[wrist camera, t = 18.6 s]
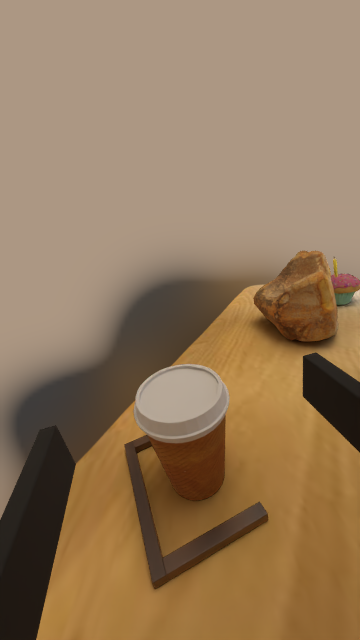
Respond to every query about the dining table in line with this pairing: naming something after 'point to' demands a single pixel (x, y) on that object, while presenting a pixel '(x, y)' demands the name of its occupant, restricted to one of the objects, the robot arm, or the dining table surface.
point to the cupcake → (344, 286)
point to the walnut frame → (193, 550)
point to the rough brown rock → (301, 299)
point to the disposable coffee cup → (186, 426)
